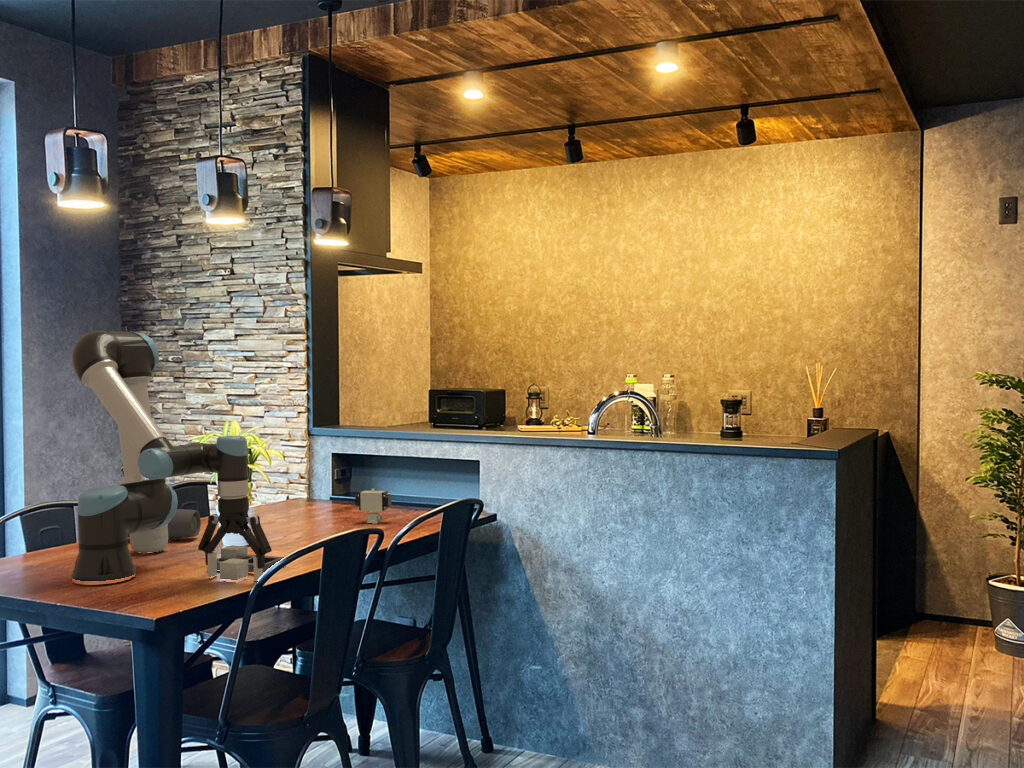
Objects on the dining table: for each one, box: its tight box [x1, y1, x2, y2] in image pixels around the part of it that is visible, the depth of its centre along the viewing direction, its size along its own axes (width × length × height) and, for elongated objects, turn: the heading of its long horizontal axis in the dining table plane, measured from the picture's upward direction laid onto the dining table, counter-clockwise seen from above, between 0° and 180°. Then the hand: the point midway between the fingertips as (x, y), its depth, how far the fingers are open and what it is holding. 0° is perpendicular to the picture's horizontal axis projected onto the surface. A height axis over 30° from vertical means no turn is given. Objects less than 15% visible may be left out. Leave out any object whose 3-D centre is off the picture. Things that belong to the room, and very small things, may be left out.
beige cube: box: [219, 558, 249, 580], centre depth 235 cm, size 5×5×5 cm
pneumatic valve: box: [354, 488, 393, 525], centre depth 317 cm, size 6×12×12 cm, turn 80°
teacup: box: [129, 524, 169, 553], centre depth 273 cm, size 14×11×8 cm
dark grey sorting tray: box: [217, 544, 285, 573], centre depth 248 cm, size 11×17×6 cm, turn 71°
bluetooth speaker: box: [128, 508, 202, 541], centre depth 290 cm, size 23×9×10 cm, turn 89°
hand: (235, 579), depth 235 cm, fingers open, 13 cm apart
